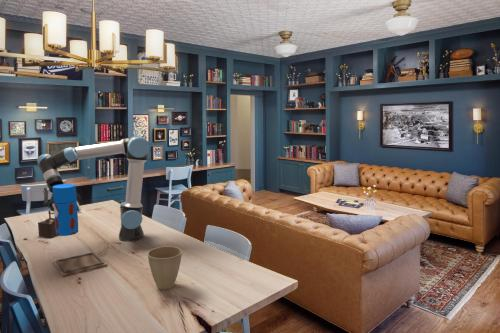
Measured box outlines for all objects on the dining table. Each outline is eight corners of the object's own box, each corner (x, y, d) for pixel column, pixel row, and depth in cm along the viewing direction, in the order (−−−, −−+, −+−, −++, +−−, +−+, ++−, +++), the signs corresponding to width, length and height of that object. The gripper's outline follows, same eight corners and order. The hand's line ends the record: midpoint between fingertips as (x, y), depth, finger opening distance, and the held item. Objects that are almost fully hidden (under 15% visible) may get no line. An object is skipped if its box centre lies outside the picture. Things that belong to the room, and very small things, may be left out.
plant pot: (151, 296, 158) (150, 260, 156) (146, 282, 171) (145, 249, 169) (186, 289, 164) (185, 255, 162) (178, 276, 177) (177, 244, 175)
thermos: (63, 237, 188) (60, 189, 184) (51, 233, 193) (47, 186, 189) (83, 231, 197) (80, 185, 193) (70, 228, 203) (67, 183, 199)
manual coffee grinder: (51, 238, 234) (49, 210, 232) (38, 236, 238) (36, 209, 235) (70, 231, 248) (69, 205, 246) (58, 229, 252) (56, 203, 250)
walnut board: (94, 254, 206) (94, 251, 206) (107, 266, 190) (107, 262, 190) (52, 263, 193) (52, 260, 193) (62, 277, 177) (62, 273, 177)
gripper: (73, 180, 210) (88, 212, 202) (28, 187, 192) (42, 222, 185) (77, 172, 206) (92, 204, 198) (31, 178, 188) (46, 213, 181)
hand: (68, 213), depth 192 cm, fingers closed on thermos, 11 cm apart
